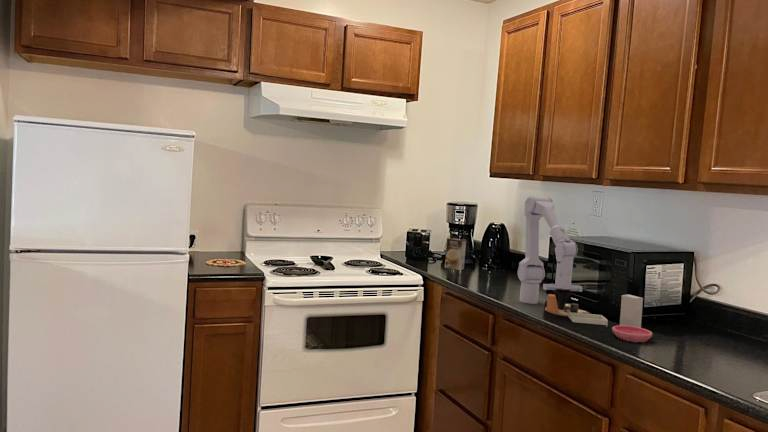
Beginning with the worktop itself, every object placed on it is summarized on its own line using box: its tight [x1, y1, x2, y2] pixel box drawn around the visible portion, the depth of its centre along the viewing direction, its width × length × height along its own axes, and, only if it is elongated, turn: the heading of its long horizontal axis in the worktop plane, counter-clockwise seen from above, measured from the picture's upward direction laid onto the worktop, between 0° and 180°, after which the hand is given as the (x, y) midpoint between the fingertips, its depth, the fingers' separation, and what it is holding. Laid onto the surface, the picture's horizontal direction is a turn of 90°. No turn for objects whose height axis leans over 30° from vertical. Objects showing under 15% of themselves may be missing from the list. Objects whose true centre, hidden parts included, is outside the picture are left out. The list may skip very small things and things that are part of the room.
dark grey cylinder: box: [564, 303, 579, 313], centre depth 228 cm, size 14×3×4 cm, turn 4°
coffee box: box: [444, 237, 467, 271], centre depth 318 cm, size 9×6×16 cm
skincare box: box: [619, 294, 644, 328], centre depth 209 cm, size 6×4×12 cm
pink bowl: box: [611, 324, 653, 343], centre depth 197 cm, size 12×12×3 cm
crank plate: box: [544, 306, 591, 317], centre depth 228 cm, size 17×17×2 cm
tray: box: [567, 312, 609, 328], centre depth 215 cm, size 8×12×2 cm, turn 84°
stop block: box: [545, 293, 558, 313], centre depth 227 cm, size 4×4×6 cm
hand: (560, 309), depth 221 cm, fingers closed
